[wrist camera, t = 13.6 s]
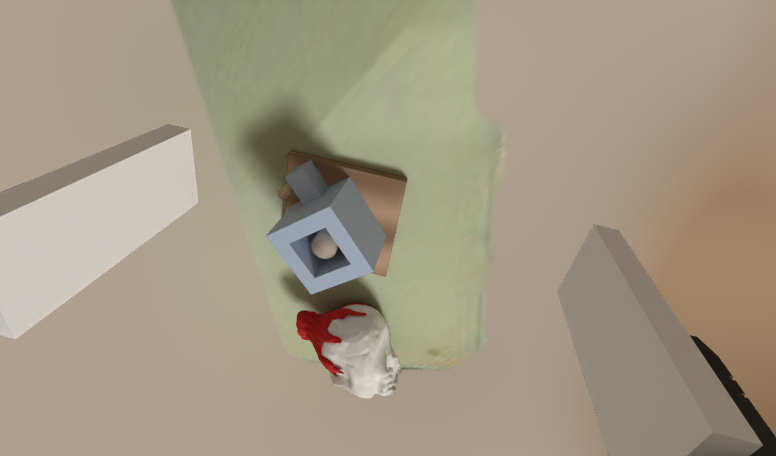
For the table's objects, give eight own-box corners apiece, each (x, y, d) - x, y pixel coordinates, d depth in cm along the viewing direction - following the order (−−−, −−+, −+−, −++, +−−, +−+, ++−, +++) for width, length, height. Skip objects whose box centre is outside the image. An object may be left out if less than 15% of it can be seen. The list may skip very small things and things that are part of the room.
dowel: (289, 176, 42) (278, 188, 39) (299, 179, 42) (289, 190, 39) (289, 186, 43) (277, 198, 40) (299, 189, 43) (288, 200, 40)
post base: (291, 150, 41) (262, 175, 36) (407, 178, 41) (397, 208, 35) (287, 246, 48) (262, 281, 42) (386, 271, 48) (375, 310, 42)
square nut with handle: (386, 235, 44) (373, 271, 38) (330, 257, 47) (311, 294, 41) (332, 148, 39) (308, 174, 33) (274, 179, 42) (243, 207, 37)
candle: (404, 364, 55) (310, 327, 57) (422, 308, 49) (316, 270, 51) (385, 419, 47) (278, 375, 50) (403, 362, 41) (280, 315, 44)
